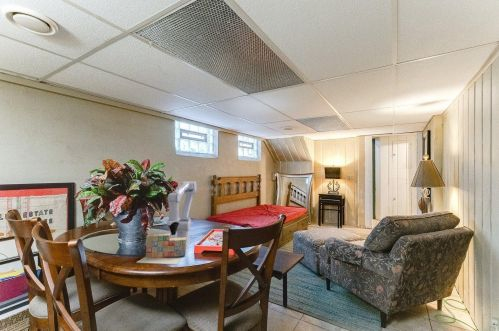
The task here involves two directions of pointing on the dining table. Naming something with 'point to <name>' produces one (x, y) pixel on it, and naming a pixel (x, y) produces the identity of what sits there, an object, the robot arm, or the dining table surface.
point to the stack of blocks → (164, 246)
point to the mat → (160, 260)
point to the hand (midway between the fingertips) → (173, 234)
